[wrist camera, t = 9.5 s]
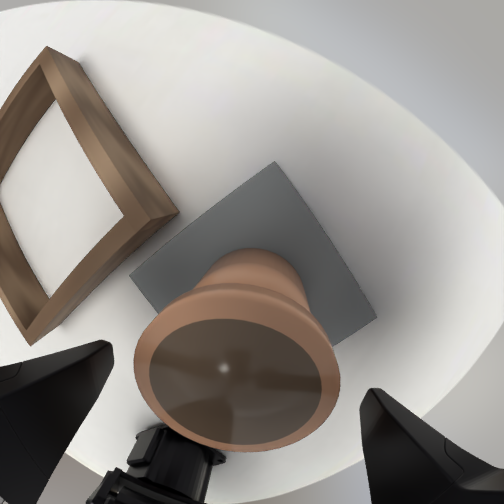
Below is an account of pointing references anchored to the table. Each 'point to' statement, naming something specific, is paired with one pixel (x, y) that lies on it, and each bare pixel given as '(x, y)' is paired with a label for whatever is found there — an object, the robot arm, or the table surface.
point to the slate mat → (262, 237)
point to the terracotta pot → (240, 358)
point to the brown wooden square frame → (109, 171)
